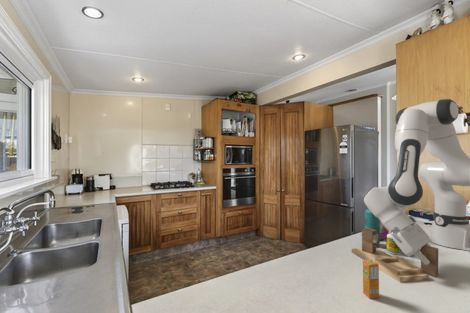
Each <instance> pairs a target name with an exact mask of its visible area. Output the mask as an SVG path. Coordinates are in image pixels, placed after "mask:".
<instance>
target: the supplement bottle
mask: <svg viewBox="0 0 470 313" xmlns="http://www.w3.org/2000/svg"><path fill="white" fill-rule="evenodd" d="M386 251H387V252H386V253H389V254H391V255H395V256H397V255H399V256H400V255H402V253H403V251H402V250H401V249H400V248H399V246H398V245H397V244H396V243H395V241H394V240H393V236H392V235H391V233H390V232H389V234H387V238H386Z"/></svg>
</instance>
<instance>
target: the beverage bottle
mask: <svg viewBox="0 0 470 313" xmlns="http://www.w3.org/2000/svg"><path fill="white" fill-rule="evenodd" d="M364 228H370V229H374V230H376V234H378V242H376V245H380V243H381V240H380V220H379V219H378V218H377V217H376V216H374V214H373V213H372V212H371V211H370V210H369V209H368V208H366V210H364Z"/></svg>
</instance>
